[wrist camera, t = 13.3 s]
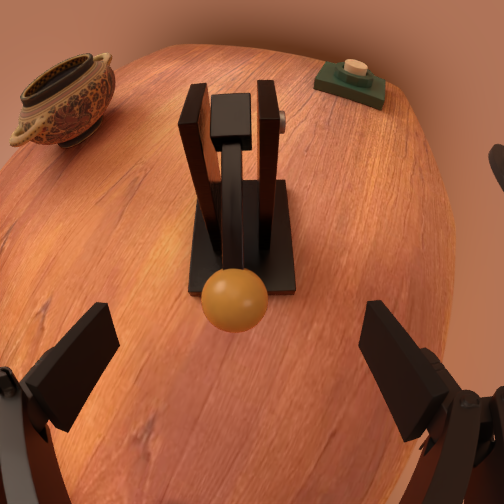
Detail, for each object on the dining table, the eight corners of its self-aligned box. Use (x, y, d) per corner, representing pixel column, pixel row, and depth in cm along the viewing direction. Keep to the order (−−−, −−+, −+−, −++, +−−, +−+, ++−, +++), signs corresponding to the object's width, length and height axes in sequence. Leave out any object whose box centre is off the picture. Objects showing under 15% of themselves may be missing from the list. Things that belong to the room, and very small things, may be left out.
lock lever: (266, 322, 16) (270, 341, 13) (208, 322, 16) (197, 341, 13) (261, 115, 16) (263, 86, 13) (206, 117, 16) (196, 90, 13)
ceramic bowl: (68, 200, 33) (31, 128, 19) (8, 173, 31) (-25, 116, 18) (148, 102, 43) (148, 35, 30) (84, 89, 42) (75, 33, 28)
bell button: (366, 71, 37) (368, 64, 35) (364, 79, 35) (367, 70, 34) (345, 65, 38) (346, 57, 36) (342, 72, 36) (343, 63, 35)
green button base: (382, 88, 41) (387, 72, 37) (381, 110, 37) (387, 92, 33) (324, 70, 43) (327, 53, 39) (313, 88, 39) (316, 69, 35)
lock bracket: (294, 294, 23) (339, 176, 10) (190, 296, 23) (118, 185, 10) (284, 186, 29) (297, 59, 15) (201, 189, 29) (172, 65, 16)
